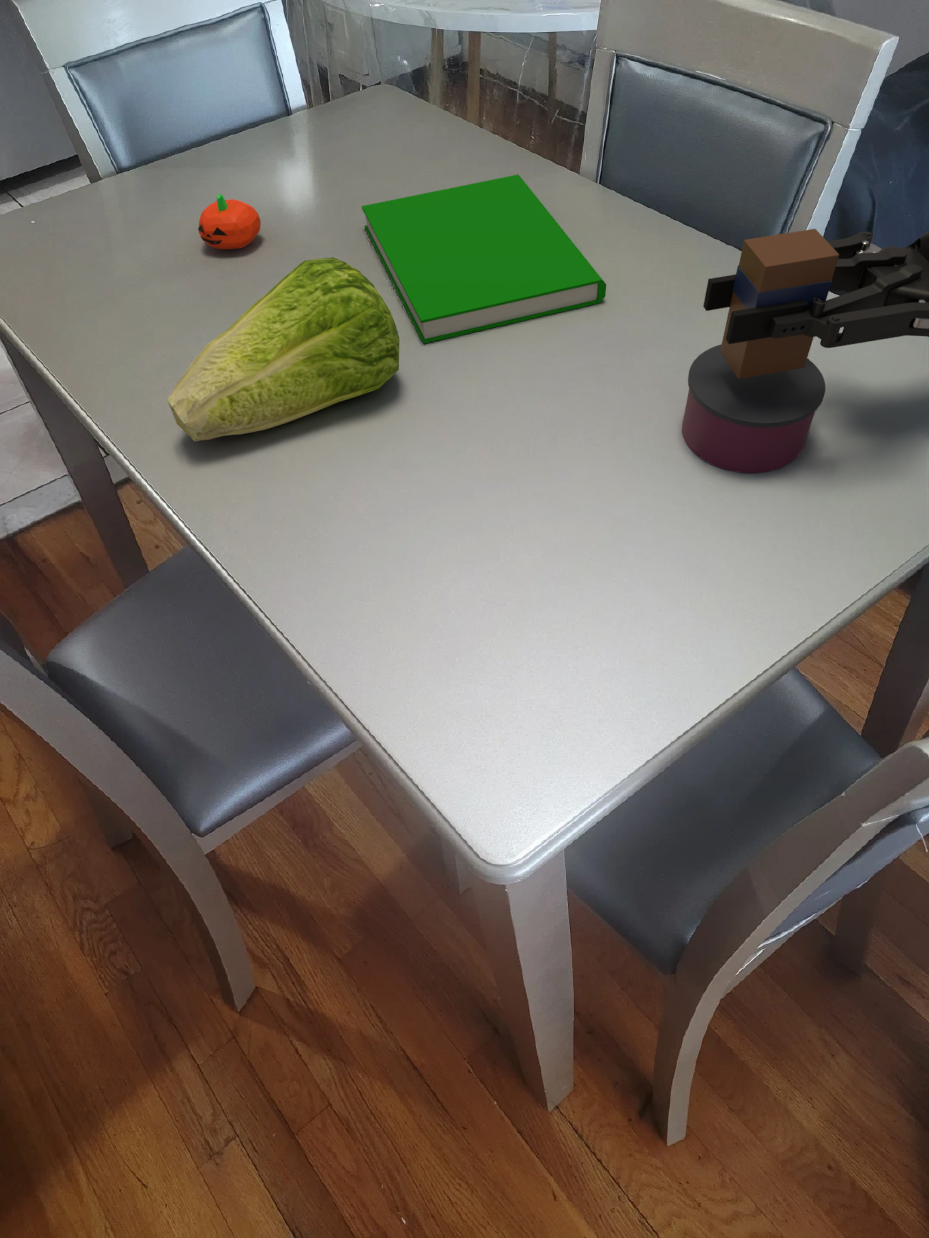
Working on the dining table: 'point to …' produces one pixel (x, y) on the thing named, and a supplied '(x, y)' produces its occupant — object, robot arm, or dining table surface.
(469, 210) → the book
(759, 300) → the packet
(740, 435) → the lidded tub
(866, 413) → the dining table surface
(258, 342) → the lettuce
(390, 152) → the dining table surface
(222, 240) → the pumpkin
